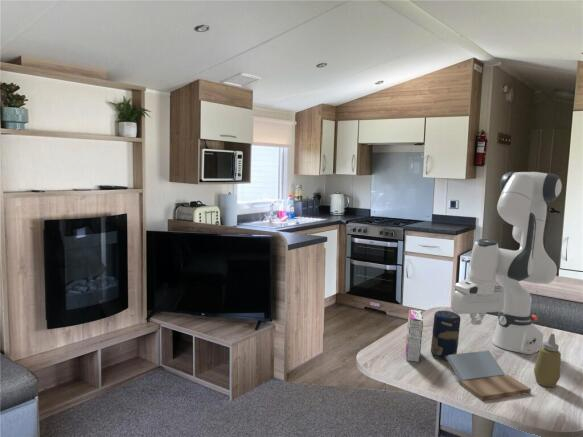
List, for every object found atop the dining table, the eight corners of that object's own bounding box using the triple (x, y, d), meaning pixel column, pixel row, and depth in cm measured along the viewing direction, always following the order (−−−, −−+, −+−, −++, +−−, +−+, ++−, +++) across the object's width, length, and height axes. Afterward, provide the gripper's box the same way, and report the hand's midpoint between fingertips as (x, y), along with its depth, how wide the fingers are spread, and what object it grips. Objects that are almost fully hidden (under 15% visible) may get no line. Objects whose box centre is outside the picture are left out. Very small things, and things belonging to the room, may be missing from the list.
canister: (456, 353, 184) (461, 309, 182) (456, 363, 175) (461, 317, 173) (430, 349, 187) (435, 305, 185) (429, 358, 178) (434, 312, 176)
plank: (486, 353, 173) (488, 350, 172) (503, 376, 166) (505, 374, 165) (446, 357, 167) (448, 355, 166) (461, 382, 160) (463, 379, 159)
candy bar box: (404, 349, 186) (408, 309, 183) (417, 350, 185) (422, 310, 183) (405, 361, 175) (409, 318, 173) (419, 363, 174) (424, 320, 172)
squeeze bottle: (527, 377, 167) (534, 329, 165) (549, 378, 168) (556, 329, 165) (541, 389, 159) (548, 338, 157) (563, 389, 160) (571, 339, 158)
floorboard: (507, 378, 166) (507, 374, 165) (530, 393, 156) (530, 388, 156) (460, 385, 159) (461, 381, 158) (481, 400, 149) (482, 396, 149)
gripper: (497, 282, 170) (492, 319, 172) (451, 284, 163) (446, 322, 165) (511, 287, 165) (506, 325, 166) (463, 289, 158) (458, 329, 159)
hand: (476, 324), depth 166 cm, fingers closed
